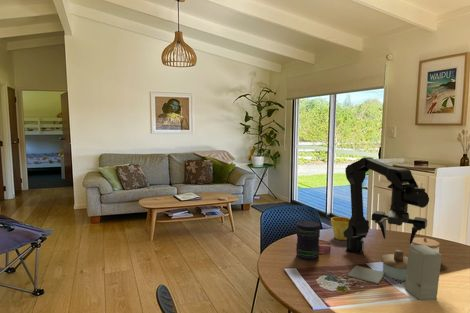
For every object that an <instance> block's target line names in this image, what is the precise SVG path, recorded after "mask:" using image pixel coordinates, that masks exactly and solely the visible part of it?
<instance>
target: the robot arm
mask: <svg viewBox="0 0 470 313" xmlns="http://www.w3.org/2000/svg"><path fill="white" fill-rule="evenodd" d="M370 170H371V171H373V172H374V173H378V174H380V175H381V176H382V175H383V176H384V177H385V178H386V180H387V181H388V182H390V184H389V185H388V186H387V188H388V189H389V190H390V189H391V198H390V199H391V200H390V201H391V203H390V209H389V211H388V214H386V212H385V211H380V210H375V211H374V212H373V213H372V214H371V218H370V219H371V221H373V222H374V223H375V224H377V225H378V227H379V228H380V231H381V234H382V237H383V239H384V240H385V239H386V237H387V223H388V224H389V225H396V226H403V224H410V225H412V227H411V234H410V238H409V245H411V243H412V241H413V239H414V238H416V237H415V236H416V234H417V232H418V231H422V230H425V229H427V227H428V219H427V218H426V217H419V216H415V217H414V218H410V214H409V212H408V211H409V209H408V207H409V206H408V205H411V206H414V207H418V208H420V209H421V208H422V209H423V208H425V207H427V206H428V205H429V202H430V197H429V195H428V193H427V192H426V188H424V187H419V185H418V183H417V181H416V179H415V178H414V176H413V174H412V171H411V169H408V168H404V167H396V166H395V167H394V166H391V165H389V164H386V163H384V162H381V161H379V160H377V159H374V158H373V157H369V156H368V157H362V158H361V157H360V159H359V160H356V161H355V162H352V163H350V164H348V165H347V166H346V167H345V177H346V180H347V181H348V183H349V188H350V206H351V207H350V208H351V216H350V220H349V223H348V228H347V229H346V230H345V231H344V232H343V233H344V237H346V238H347V239H346V249H345V252H348V253H349V252H350V253H354V254H361V253H362V252H363V251H364V250H365V242H364V241H363V240H364V239H366V238H367V236H368V233H369V230H370V226H369V225H370V221H369V220H368V219H366V218H365V216H364V202H363V200H364V199H363V183H364V181H365V179H366V173H367V172H369V171H370Z"/></svg>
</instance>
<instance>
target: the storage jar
mask: <svg viewBox="0 0 470 313" xmlns="http://www.w3.org/2000/svg"><path fill="white" fill-rule="evenodd" d="M320 226H321V223H319V222H318V221H315V220H308V219H307V220H304V219H303V220H298V221H297V222H296V236H297V237H296V239H297V240H296V242H297V243H296V248H295V249H296V250H295V251H296V256H295V257H296V258H297V259H299V260H300V261H304V262H316V261H317V262H318V261H319V259H320V236H321V235H320V233H321V232H320V231H321V230H320V229H321V228H320Z"/></svg>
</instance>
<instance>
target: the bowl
mask: <svg viewBox="0 0 470 313" xmlns="http://www.w3.org/2000/svg"><path fill="white" fill-rule="evenodd" d="M406 270H407V269H398V268H394V267H390V266H388V265H386V264H384V263H383V262H382V272H384V273H385V276H387V277H388V278H392V279H395V280H399V281H405V279H406Z"/></svg>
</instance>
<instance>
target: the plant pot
mask: <svg viewBox="0 0 470 313" xmlns="http://www.w3.org/2000/svg"><path fill="white" fill-rule="evenodd" d="M350 218H351V217H350ZM350 218H349V217H346V216H333V217H331V218H330V226H331V227H332V231H333V237H334V239H336V240H340V241H344V240H345V241H347V238H346V237H344V233H343V232H344V231H345V230H346V229H347V228H348V223H349V220H350Z"/></svg>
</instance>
